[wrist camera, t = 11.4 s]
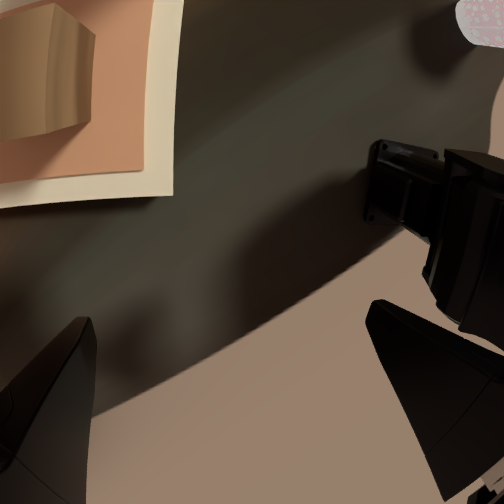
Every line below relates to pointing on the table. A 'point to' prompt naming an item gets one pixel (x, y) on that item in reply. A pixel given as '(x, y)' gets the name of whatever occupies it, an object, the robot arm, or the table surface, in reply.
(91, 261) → the table surface
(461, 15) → the beverage cup
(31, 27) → the walnut block
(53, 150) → the plinth
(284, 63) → the table surface
